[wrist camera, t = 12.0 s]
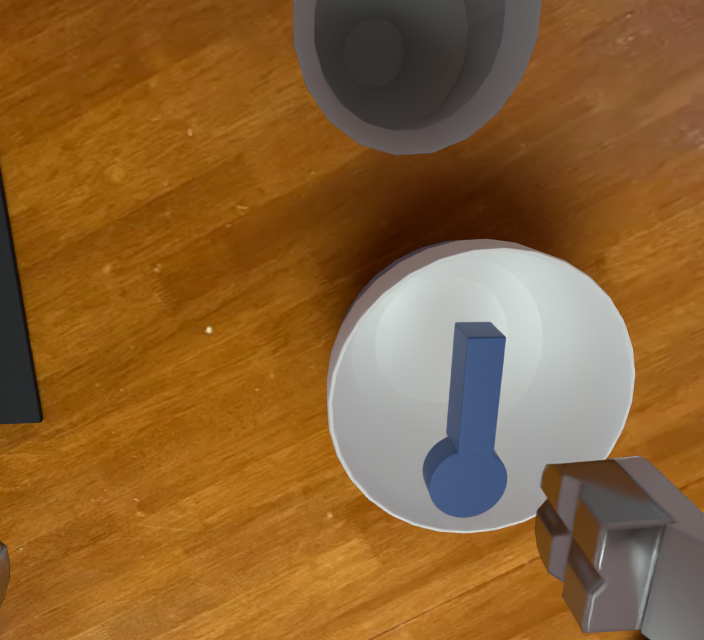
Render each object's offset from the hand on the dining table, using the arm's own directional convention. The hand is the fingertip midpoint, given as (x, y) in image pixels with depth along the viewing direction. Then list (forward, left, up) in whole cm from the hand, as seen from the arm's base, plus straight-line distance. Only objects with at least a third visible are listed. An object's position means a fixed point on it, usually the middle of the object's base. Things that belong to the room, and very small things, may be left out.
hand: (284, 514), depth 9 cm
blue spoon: (+8, +9, -18) cm, 22 cm away
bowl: (+8, +10, -28) cm, 31 cm away
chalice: (-8, +4, -28) cm, 30 cm away
